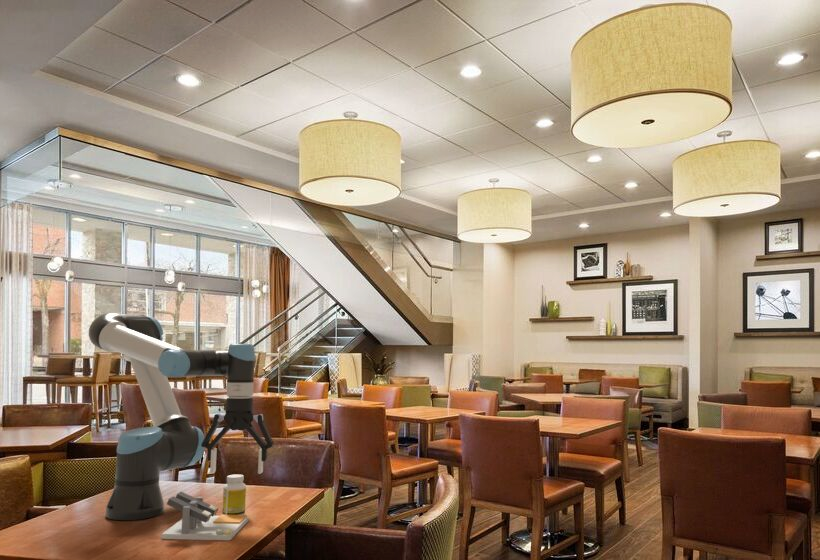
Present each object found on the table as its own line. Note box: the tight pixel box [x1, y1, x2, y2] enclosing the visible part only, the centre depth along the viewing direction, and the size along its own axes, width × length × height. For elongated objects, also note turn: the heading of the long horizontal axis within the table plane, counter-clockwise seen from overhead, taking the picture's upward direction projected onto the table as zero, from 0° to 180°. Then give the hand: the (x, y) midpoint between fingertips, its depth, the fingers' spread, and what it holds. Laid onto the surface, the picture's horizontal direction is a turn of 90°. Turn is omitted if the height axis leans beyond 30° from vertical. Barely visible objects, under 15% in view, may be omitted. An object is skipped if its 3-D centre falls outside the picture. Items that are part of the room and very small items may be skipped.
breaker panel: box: [161, 496, 250, 541], centre depth 160 cm, size 17×18×8 cm
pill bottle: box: [222, 473, 247, 515], centre depth 174 cm, size 6×6×11 cm
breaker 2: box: [175, 491, 219, 516], centre depth 160 cm, size 11×3×2 cm, turn 88°
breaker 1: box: [166, 496, 212, 523], centre depth 155 cm, size 11×3×2 cm, turn 88°
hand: (236, 472), depth 175 cm, fingers open, 13 cm apart
